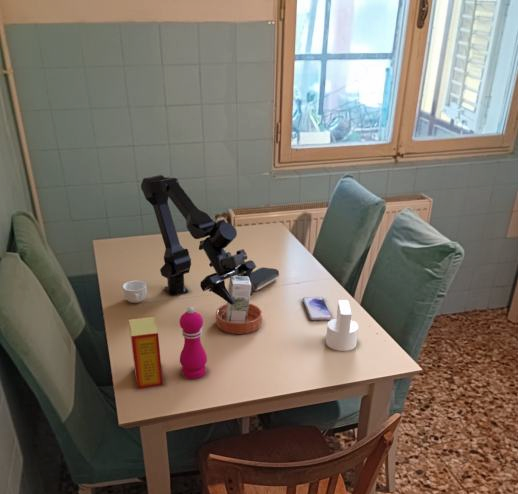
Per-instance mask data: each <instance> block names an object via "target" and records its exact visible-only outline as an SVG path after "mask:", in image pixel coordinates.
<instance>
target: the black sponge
mask: <svg viewBox="0 0 518 494" xmlns="http://www.w3.org/2000/svg"><path fill="white" fill-rule="evenodd" d="M279 277H280V272H279V269H276V268H270V267H259V268H258V269H256V270H255V269H254V270H253V272H252V273H251V275H250V283H251V289H252V292H257V291H259V290H262V289H263V288H264V287H266V286H268V285H269V284H271V283H273V282H274V281H277V280H278V279H279Z"/></svg>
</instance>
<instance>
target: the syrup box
mask: <svg viewBox="0 0 518 494" xmlns="http://www.w3.org/2000/svg"><path fill="white" fill-rule="evenodd" d="M228 293H229V295H230V296H231V298H232V301H233V304H230V303H228V302H227V301H226V302H227V303H226V304H227V310H226V318H227V321H228V322H233V323H246V321H247V314H248V307H249V303H250V298H251V296H250V293H251V283H250V280H249V277H248V276H237V275H236V276H230V278H229V284H228Z"/></svg>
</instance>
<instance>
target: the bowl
mask: <svg viewBox="0 0 518 494" xmlns="http://www.w3.org/2000/svg"><path fill="white" fill-rule="evenodd" d="M226 310H227V303H225V304H223V305H220V306H219V307H218V308H217V309H216V311H215V323H216V327H217V328H218V329H219V330H221V331H223V332H225V333H228V334H236V335H243V334H244V335H245V334H249V333H253V332H255V331H257V330H259V329H260V328H261V327H262V324H263V310H262V309H261V308H260V307H259V306H258V305H255V304H253V303H250V302H249V307H248V314H247V321H246V323H233V322H228V321H227V318H226Z"/></svg>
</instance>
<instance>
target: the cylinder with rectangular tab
mask: <svg viewBox="0 0 518 494" xmlns="http://www.w3.org/2000/svg"><path fill="white" fill-rule="evenodd" d="M352 316H353V315H352V310H351V305H350V301H349V300H347V299H339V300H337V309H336V318H332V319H331V320H328V322H327V324H326V325H327V327H326V335H325V336H326V338H325V344H326V346H327V347H328V348H330V349H332V350H334V351H339V352H340V351H341V352H348V351H351V350H353V349H356V346H357V341H358V334H359V324H358V323H357V322H356V321H355V320H352Z"/></svg>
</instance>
